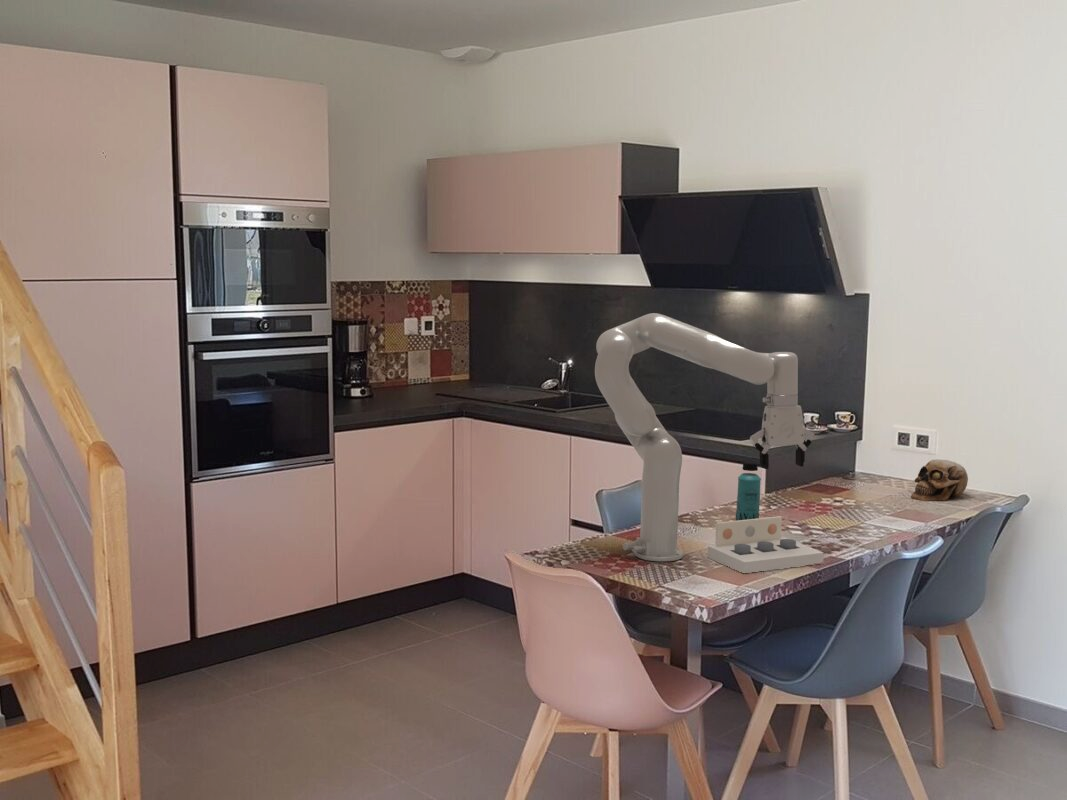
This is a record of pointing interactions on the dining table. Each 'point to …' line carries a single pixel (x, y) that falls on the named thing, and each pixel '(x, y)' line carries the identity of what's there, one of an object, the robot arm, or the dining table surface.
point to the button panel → (751, 535)
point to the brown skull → (940, 481)
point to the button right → (787, 544)
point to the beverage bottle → (748, 493)
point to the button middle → (765, 546)
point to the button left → (742, 549)
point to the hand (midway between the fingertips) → (782, 466)
